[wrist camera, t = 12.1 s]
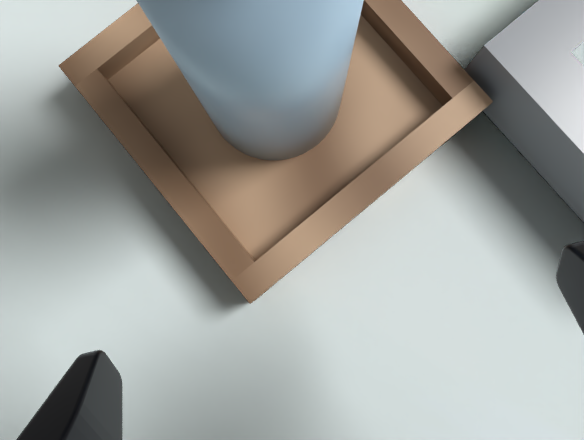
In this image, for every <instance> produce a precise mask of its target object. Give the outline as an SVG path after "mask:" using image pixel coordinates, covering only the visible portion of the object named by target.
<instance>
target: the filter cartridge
mask: <svg viewBox="0 0 584 440" xmlns="http://www.w3.org/2000/svg"><path fill="white" fill-rule="evenodd" d="M363 1H364V0H137V2H138V4H139V5H140V7H141V8H142V10H143V12H144V13H145V15H146V16H147V18H148V20H149V21H150V23H151V24H152V26H153V28H154V29H155V31H156V32H157V34H158V36H159V37H160V39H161V40H162V42H163V43H164V45H165V47H166V48H167V50H168V51H169V53H170V55H171V56H172V58H173V59H174V61H175V63H176V64H177V66H178V67H179V69H180V71H181V72H182V74H183V75H184V77H185V79H186V80H187V82H188V83H189V85H190V87H191V88H192V90H193V91H194V93H195V95H196V96H197V98H198V99H199V101H200V103H201V104H202V106H203V107H204V109H205V110H206V112H207V114H208V115H209V117H210V118H211V120H212V122H213V123H214V125H215V126H216V128H217V130H218V131H219V133H220V134H221V135H222V136H223V138H224V139H225V140H226V141H227V142H228V143H229V144H230V145H232V146H233V147H234V148H235V149H237V150H239V151H240V152H242V153H244V154H246V155H249V156H251V157H254V158H258V159H263V160H284V159H289V158H293V157H297V156H299V155H301V154H304V153H306V152H307V151H309V150H311V149H312V148H314V147H315V146H316V145H318V144H319V143H320V142H321V141H322V140H323V139H324V138H325V137H326V135H327V134H328V133H329V131H330V130H331V128H332V126H333V125H334V123H335V121H336V118H337V116H338V112H339V108H340V104H341V100H342V95H343V91H344V86H345V82H346V77H347V73H348V68H349V64H350V59H351V55H352V50H353V46H354V41H355V37H356V33H357V28H358V24H359V19H360V15H361V10H362V6H363Z"/></svg>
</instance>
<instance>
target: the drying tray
mask: <svg viewBox="0 0 584 440" xmlns="http://www.w3.org/2000/svg"><path fill="white" fill-rule="evenodd" d="M59 67H60V68H61V70H62V71H63V72H64V73H65V75H66V76H67V77H68V78H69V80H70V81H71V82H72V83H73V84H74V86H75V87H76V88H77V89H78V91H79V92H80V93H81V94H82V96H83V97H84V98H85V99H86V101H87V102H88V103H89V104H90V106H91V107H92V108H93V109H94V111H95V112H96V113H97V114H98V116H99V117H100V118H101V119H102V121H103V122H104V123H105V124H106V126H107V127H108V128H109V129H110V130H111V132H112V133H113V134H114V135H115V137H116V138H117V139H118V140H119V142H120V143H121V144H122V145H123V147H124V148H125V149H126V150H127V152H128V153H129V154H130V155H131V157H132V158H133V159H134V160H135V162H136V163H137V164H138V165H139V167H140V168H141V169H142V170H143V171H144V173H145V174H146V175H147V176H148V178H149V179H150V180H151V181H152V183H153V184H154V185H155V186H156V188H157V189H158V190H159V191H160V193H161V194H162V195H163V196H164V198H165V199H166V200H167V201H168V203H169V204H170V205H171V206H172V208H173V209H174V210H175V211H176V213H177V214H178V215H179V216H180V217H181V219H182V220H183V221H184V222H185V224H186V225H187V226H188V227H189V229H190V230H191V231H192V232H193V234H194V235H195V236H196V237H197V239H198V240H199V241H200V242H201V244H202V245H203V246H204V247H205V249H206V250H207V251H208V252H209V254H210V255H211V256H212V257H213V258H214V260H215V261H216V262H217V263H218V265H219V266H220V267H221V268H222V270H223V271H224V272H225V273H226V275H227V276H228V277H229V278H230V280H231V281H232V282H233V283H234V285H235V286H236V287H237V288H238V290H239V291H240V292H241V293H242V295H243V296H244V297H245V298H246V300H247V301H248V302H249V303H252V302H253V301H255V300H256V299H257V298H259V297H260V296H261V295H262V294H263V293H265V292H266V291H267V290H268V289H269V288H271V287H272V286H273V285H274V284H275V283H277V282H278V281H279V280H280V279H281V278H283V277H284V276H285V275H286V274H287V273H289V272H290V271H291V270H292V269H294V268H295V267H296V266H297V265H298V264H300V263H301V262H302V261H303V260H304V259H306V258H307V257H308V256H309V255H310V254H312V253H313V252H314V251H315V250H316V249H318V248H319V247H320V246H321V245H322V244H324V243H325V242H326V241H327V240H328V239H330V238H331V237H332V236H333V235H334V234H336V233H337V232H338V231H339V230H340V229H342V228H343V227H344V226H345V225H346V224H348V223H349V222H350V221H351V220H352V219H354V218H355V217H356V216H357V215H358V214H360V213H361V212H362V211H363V210H365V209H366V208H367V207H368V206H369V205H371V204H372V203H373V202H374V201H375V200H377V199H378V198H379V197H380V196H381V195H383V194H384V193H385V192H386V191H387V190H389V189H390V188H391V187H392V186H393V185H395V184H396V183H397V182H398V181H399V180H401V179H402V178H403V177H404V176H405V175H407V174H408V173H409V172H410V171H411V170H413V169H414V168H415V167H416V166H417V165H419V164H420V163H421V162H422V161H423V160H425V159H426V158H427V157H428V156H429V155H431V154H432V153H433V152H434V151H436V150H437V149H438V148H439V147H440V146H442V145H443V144H444V143H445V142H446V141H448V140H449V139H450V138H451V137H452V136H454V135H455V134H456V133H457V132H458V131H460V130H461V129H462V128H463V127H464V126H466V125H467V124H468V123H469V122H470V121H472V120H473V119H474V118H475V117H476V116H477V115H479V114H480V113H481V112H482V111H483V110H484V109H485V108H487V107H488V106H489V105H490V104H491V103H492V102H493V101H492V100H491V98H490V97H489V96H488V95H487V94H486V93H485V92H484V91H483V90H482V89H481V87H480V86H479V85H478V84H477V83H476V82H475V81H474V80H473V79H472V78H471V76H470V75H469V74H468V73H467V72H466V71H465V70H464V69H463V68H462V67H461V65H460V64H459V63H458V62H457V61H456V60H455V59H454V58H453V57H452V56H451V54H450V53H449V52H448V51H447V50H446V49H445V48H444V47H443V46H442V45H441V43H440V42H439V41H438V40H437V39H436V38H435V37H434V36H433V35H432V34H431V32H430V31H429V30H428V29H427V28H426V27H425V26H424V25H423V24H422V23H421V21H420V20H419V19H418V18H417V17H416V16H415V15H414V14H413V13H412V12H411V10H410V9H409V8H408V7H407V6H406V5H405V4H404V3H403V2H402V1H401V0H364V1H363V6H362V10H361V15H360V19H359V24H358V28H357V33H356V37H355V41H354V46H353V50H352V55H351V59H350V64H349V68H348V73H347V77H346V82H345V86H344V91H343V95H342V100H341V104H340V108H339V112H338V116H337V118H336V121H335V123H334V125H333V126H332V128H331V130H330V131H329V133H328V134H327V135H326V137H325V138H324V139H323V140H322V141H321V142H320V143H319V144H318V145H316V146H315V147H314V148H312V149H311V150H309V151H307V152H306V153H304V154H301V155H299V156H297V157H293V158H289V159H284V160H263V159H258V158H254V157H251V156H249V155H246V154H244V153H242V152H240V151H239V150H237V149H235V148H234V147H233V146H232V145H230V144H229V143H228V142H227V141H226V140H225V139H224V138H223V136H222V135H221V134H220V133H219V131H218V130H217V128H216V126H215V125H214V123H213V122H212V120H211V118H210V117H209V115H208V114H207V112H206V110H205V109H204V107H203V106H202V104H201V103H200V101H199V99H198V98H197V96H196V95H195V93H194V91H193V90H192V88H191V87H190V85H189V83H188V82H187V80H186V79H185V77H184V75H183V74H182V72H181V71H180V69H179V67H178V66H177V64H176V63H175V61H174V59H173V58H172V56H171V55H170V53H169V51H168V50H167V48H166V47H165V45H164V43H163V42H162V40H161V39H160V37H159V36H158V34H157V32H156V31H155V29H154V28H153V26H152V24H151V23H150V21H149V20H148V18H147V16H146V15H145V13H144V12H143V10H142V8H141V7H140V5H139V4H136V5H135V6H134V7H132V8H131V9H130V10H129V11H127V12H126V13H125V14H124V15H122V16H121V17H120V18H118V19H117V20H116V21H115V22H113V23H112V24H111V25H110V26H108V27H107V28H106V29H104V30H103V31H102V32H101V33H99V34H98V35H97V36H96V37H94V38H93V39H92V40H90V41H89V42H88V43H87V44H85V45H84V46H83V47H82V48H80V49H79V50H78V51H76V52H75V53H74V54H73V55H71V56H70V57H69V58H68V59H66V60H65V61H64V62H62V63H61V64H60V65H59Z"/></svg>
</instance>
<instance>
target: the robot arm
mask: <svg viewBox="0 0 584 440" xmlns="http://www.w3.org/2000/svg"><path fill="white" fill-rule="evenodd" d="M556 279H557V283H558V286H559V288H560V290H561V292H562V294H563V296H564V298H565V300H566V302H567V303H568V305H569V307H570V309H571V311H572V313H573V315H574V317H575V319H576V321H577V322H578V324H579V326H580V328H581V330H582V332H583V334H584V241H581V242H577V243H572V244H568V245H566V246H565V247H564V248H563V250H562V253H561V257H560V261H559V265H558V269H557V273H556ZM16 440H122V379H121V376H120V373H119V372H118V370H117V369H116V367H115V366H114V365H113V363H112V362H111V360H110V359H109V358H108V356H107V355H106V353H105V352H103V351H101V350H97V351H92V352H88V353H84V354H81V355H80V356H79V357H78V358H77V359H76V360H75V361H74V363H73V364H72V365H71V367H70V368H69V369H68V371H67V372H66V373H65V375H64V376H63V377H62V379H61V380H60V381H59V383H58V384H57V386H56V387H55V388H54V390H53V391H52V392H51V394H50V395H49V396H48V398H47V399H46V400H45V402H44V403H43V404H42V406H41V407H40V408H39V410H38V411H37V412H36V414H35V415H34V417H33V418H32V419H31V421H30V422H29V423H28V425H27V426H26V427H25V429H24V430H23V431H22V433H21V434H20V435H19V437H18V438H17V439H16Z"/></svg>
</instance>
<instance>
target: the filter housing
mask: <svg viewBox="0 0 584 440" xmlns="http://www.w3.org/2000/svg"><path fill="white" fill-rule="evenodd" d="M583 42H584V0H538V1H537V2H536V3H535V4H533V5H532V6H531V7H530V8H529V9H527V10H526V11H525V12H524V13H523V14H521V15H520V16H519V17H518V18H516V19H515V20H514V21H513V22H512V23H510V24H509V25H508V26H507V27H506V28H504V29H503V30H502V31H501V32H499V33H498V34H497V35H496V36H495V37H493V38H492V39H491V40H490V41H489V42H487V43H486V44H485V45H484V46H483V47H482V48H481V50H480V51H479V52H478V53H477V54H476V56H475V57H474V58H473V59H472V61H471V62H470V63H469V64H468V66H467V67H466V68H465V69H464V70H465V71H466V72H467V73H468V74H469V75H470V76H471V78H472V79H473V80H474V81H475V82H476V83H477V84H478V85H479V86H480V87H481V89H482V90H483V91H484V92H485V93H486V94H487V95H488V96H489V97H490V98H491V100H492V101H493V102H492V103H491V104H490V105H489V106H488V107H487V108H485V109H484V110H483V112H484V113H485V114H486V115H487V116H488V117H489V118H490V120H491V121H492V122H493V123H494V124H495V125H496V126H497V127H498V128H499V129H500V131H501V132H502V133H503V134H504V135H505V136H506V137H507V138H508V139H509V141H510V142H511V143H512V144H513V145H514V146H515V147H516V148H517V149H518V150H519V152H520V153H521V154H522V155H523V156H524V157H525V158H526V159H527V160H528V162H529V163H530V164H531V165H532V166H533V167H534V168H535V169H536V170H537V172H538V173H539V174H540V175H541V176H542V177H543V178H544V179H545V180H546V181H547V183H548V184H549V185H550V186H551V187H552V188H553V189H554V190H555V191H556V193H557V194H558V195H559V196H560V197H561V198H562V199H563V200H564V201H565V202H566V204H567V205H568V206H569V207H570V208H571V209H572V210H573V211H574V212H575V214H576V215H577V216H578V217H579V218H580V219H581V220H582V221H583V222H584V65H583V64H582V63H581V62H580V61H579V60H578V59H577V58H576V57H575V55H574V54H573V53H572V51H573V50H574V49H576V48H577V47H578V46H579V45H580V44H582V43H583Z"/></svg>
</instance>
